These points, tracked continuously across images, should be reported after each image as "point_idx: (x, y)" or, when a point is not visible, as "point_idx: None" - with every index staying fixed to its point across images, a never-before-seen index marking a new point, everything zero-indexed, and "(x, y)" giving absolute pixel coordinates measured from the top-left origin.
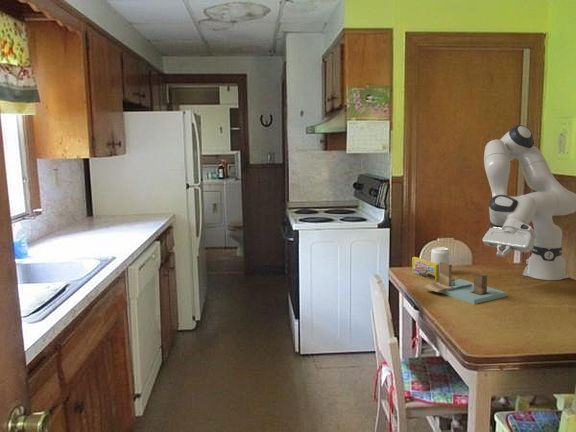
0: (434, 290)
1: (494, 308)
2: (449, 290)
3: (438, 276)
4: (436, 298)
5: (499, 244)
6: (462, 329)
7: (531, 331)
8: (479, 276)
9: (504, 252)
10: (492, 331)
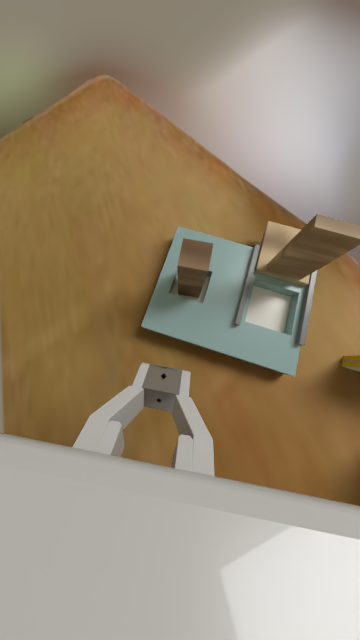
0: (277, 226)
1: (141, 248)
2: (253, 250)
3: (358, 363)
4: (260, 235)
5: (197, 477)
6: (146, 132)
7: (54, 180)
8: (193, 241)
9: (133, 386)
10: (106, 149)
